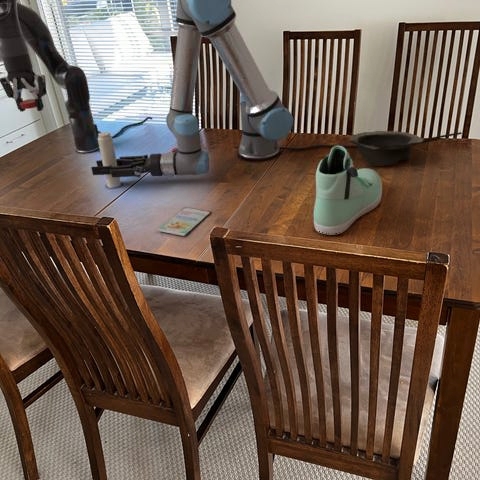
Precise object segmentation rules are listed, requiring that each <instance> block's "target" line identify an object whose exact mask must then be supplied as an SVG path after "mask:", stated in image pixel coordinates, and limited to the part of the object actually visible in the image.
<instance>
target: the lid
mask: <svg viewBox="0 0 480 480" xmlns="http://www.w3.org/2000/svg"><path fill="white" fill-rule="evenodd" d="M34 99H35V98H29V99H23V101H21V102H20V106H21V108H23V109H25V110H27V109H28V110H29V109H34V108H37V107H36V104H35V100H34Z"/></svg>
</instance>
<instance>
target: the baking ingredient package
mask: <svg viewBox="0 0 480 480" xmlns="http://www.w3.org/2000/svg"><path fill="white" fill-rule="evenodd" d="M210 213H211V211H205V210H201V209H194V208H190V207H184V208H183V209H181V211H179V212H177V214H175V215H174V216H173V217H172V218H170V219H169V220H168V221H167V222H166V223H164V224H163V225H161V227H159V228H158V229H157V231H158V232H161V233H162V232H163V233H168V234H172V235H178V236H182V237H184V236H186V235H187V234H188V233H189V232H190V231H192V229H193V228H195V227H196V226H197V225H198V224H199V223H200V222H202V220H203V219H204V218H206V217H207V216H208V215H209V214H210Z"/></svg>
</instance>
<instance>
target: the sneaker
mask: <svg viewBox="0 0 480 480" xmlns="http://www.w3.org/2000/svg"><path fill="white" fill-rule="evenodd" d="M317 165H318V166H317V168H316V172H315V201H314V207H313V225H314V229H315V231H316V232H318V233H320V234H323V235H326V236H327V235H328V236H336V235H339V234H342V233H344V232H345V231H347V230H348V229H349V228H350V227H351V226H352V225H353V224H354V222H356V221H357V220H358V219H359V218H360V217H362V216H363V215H365V214H367V213H370V212H372V210H374V209H375V208H377V207H378V205H380V203H381V200H382V196H383V184H382V183H383V182H382V179H381V176H380V175H379V173H378V172H377V171H376V170H374V169H372V168H367V167H365V168H358V169H357V168H355V167H354V161H353V159H352V158H351V156H350V153H349V152H348V150H347V148H344V147H342V146H334V147H331V149H330V151H329V154H327V155H326V156H325V157H324V158H322V159H321V160H320V161H319V163H318V164H317ZM343 230H344V231H343ZM319 231H320V232H319ZM322 232H323V233H322ZM339 232H340V233H339ZM326 233H327V234H326ZM328 233H329V234H328ZM335 233H337V234H335Z"/></svg>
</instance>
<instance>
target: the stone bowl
mask: <svg viewBox="0 0 480 480" xmlns="http://www.w3.org/2000/svg"><path fill="white" fill-rule="evenodd" d="M423 139H424V138H422V137H421V136H418V135H417V134H413V133H410V132H406V131H405V132H404V131H396V130H388V131H387V130H374V131H363V132H359V133H356V134H352V135H350V136H349V139H348V143H351V144H352V145H358V148H357V151H358V154H360V155H361V157H362V158H363V159H365V160H367V165H368V166H371V167H386V166H395V165H397V164H398V162H399V161H408V159H409V158H410V154H411V147H414V146H416V145H419V144H421V143H423V142H426V141H425V140H424V141H422V140H423Z"/></svg>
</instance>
